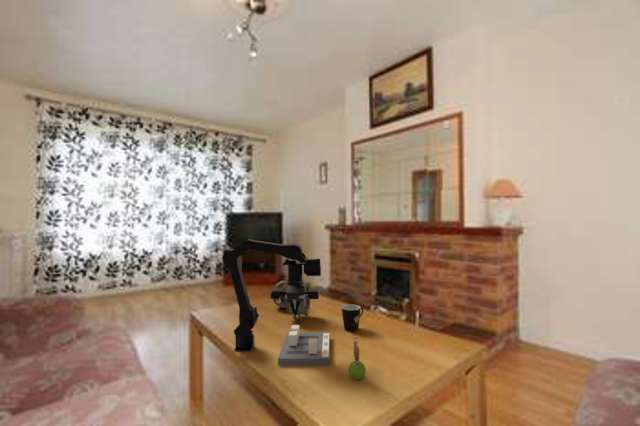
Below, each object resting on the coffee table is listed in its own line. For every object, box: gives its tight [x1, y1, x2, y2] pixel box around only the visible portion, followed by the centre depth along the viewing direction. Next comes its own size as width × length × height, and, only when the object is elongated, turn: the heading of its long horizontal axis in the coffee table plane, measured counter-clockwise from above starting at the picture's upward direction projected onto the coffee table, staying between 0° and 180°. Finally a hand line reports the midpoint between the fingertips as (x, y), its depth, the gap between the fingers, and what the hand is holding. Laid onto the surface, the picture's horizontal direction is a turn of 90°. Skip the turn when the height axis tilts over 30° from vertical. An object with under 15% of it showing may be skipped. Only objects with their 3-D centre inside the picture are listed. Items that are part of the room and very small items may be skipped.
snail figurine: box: [348, 336, 367, 380], centre depth 105 cm, size 5×6×12 cm
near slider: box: [308, 338, 317, 354], centre depth 119 cm, size 3×4×4 cm
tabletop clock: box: [285, 279, 311, 323], centre depth 163 cm, size 14×9×25 cm, turn 168°
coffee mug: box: [341, 304, 364, 333], centre depth 148 cm, size 12×9×10 cm
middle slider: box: [288, 330, 298, 346], centre depth 126 cm, size 3×4×4 cm
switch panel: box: [277, 332, 331, 367], centre depth 126 cm, size 18×24×3 cm
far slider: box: [290, 324, 301, 338], centre depth 133 cm, size 3×4×4 cm
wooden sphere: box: [272, 280, 288, 309], centre depth 183 cm, size 15×15×15 cm
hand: (295, 315), depth 129 cm, fingers closed
